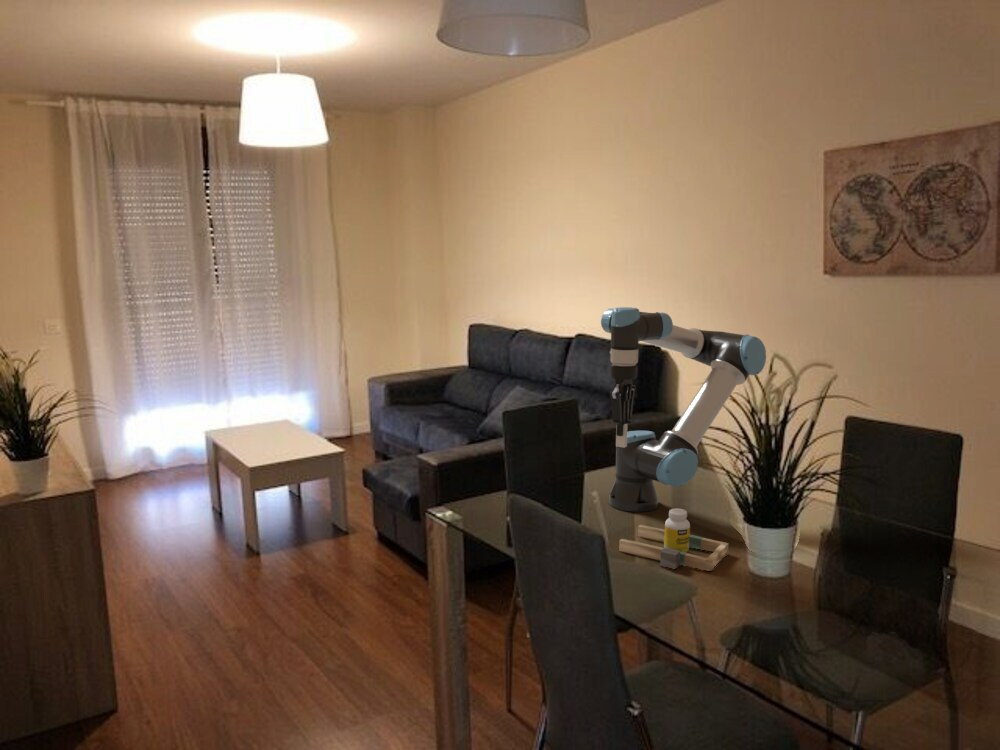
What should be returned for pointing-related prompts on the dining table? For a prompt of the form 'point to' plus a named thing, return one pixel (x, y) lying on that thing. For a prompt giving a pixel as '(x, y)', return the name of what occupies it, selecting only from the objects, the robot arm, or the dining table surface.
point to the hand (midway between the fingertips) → (621, 446)
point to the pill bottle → (677, 530)
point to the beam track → (674, 556)
